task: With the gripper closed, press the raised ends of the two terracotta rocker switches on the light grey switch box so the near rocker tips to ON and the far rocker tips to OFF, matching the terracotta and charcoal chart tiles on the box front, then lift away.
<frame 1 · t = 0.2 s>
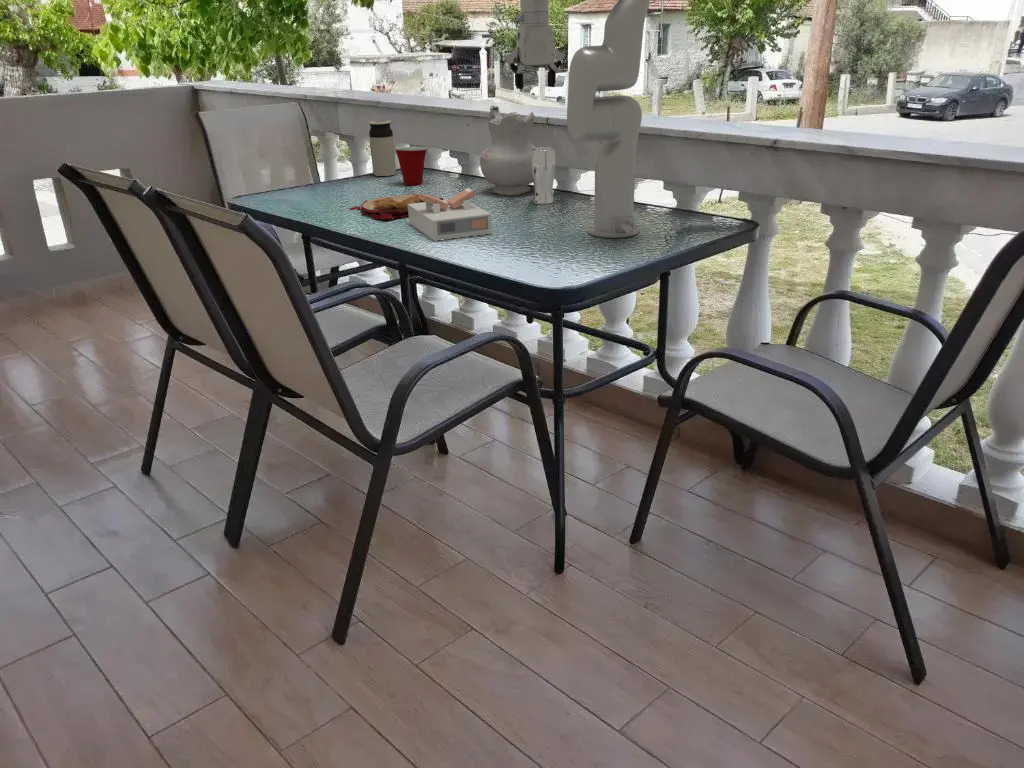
hand: (535, 87, 219), 31 cm above the table, fingers open, 9 cm apart
rocker a: (461, 198, 201), point 7 cm above the table, hinge at -25.0°
plastic cup: (413, 184, 261), on the table
switch box: (449, 228, 203), on the table
travel mug: (384, 175, 278), on the table
plate with food: (400, 210, 228), on the table
ceramic pitcher: (509, 191, 246), on the table
white cylinder: (543, 203, 229), on the table
rocker b: (433, 201, 198), point 7 cm above the table, hinge at 25.0°
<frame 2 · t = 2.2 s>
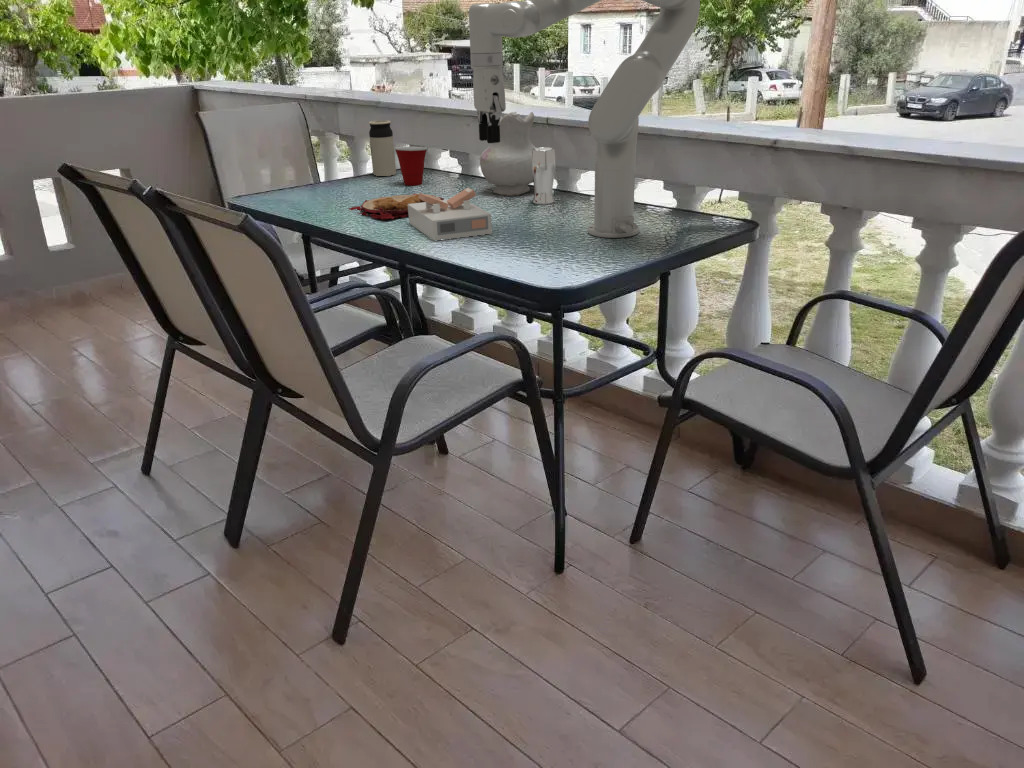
hand: (489, 140, 194), 21 cm above the table, fingers open, 4 cm apart
nothing on the table moved.
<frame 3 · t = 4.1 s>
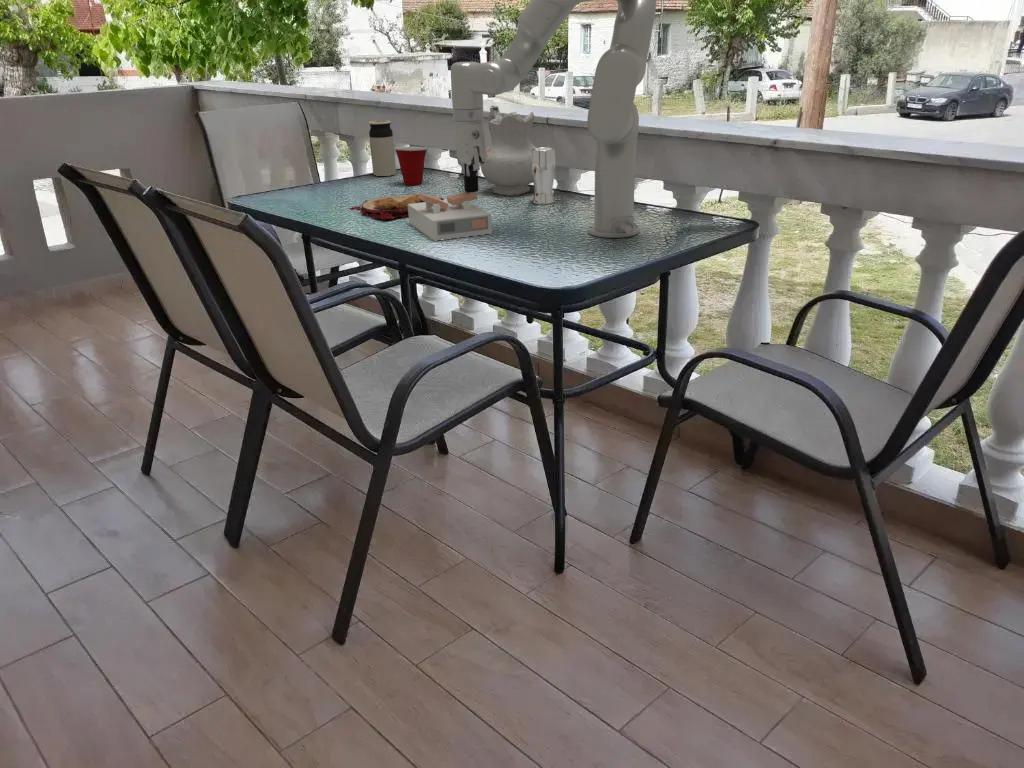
hand: (471, 191, 202), 9 cm above the table, fingers closed
rocker a: (462, 198, 201), point 7 cm above the table, hinge at -8.9°, touching gripper
everything else where it was.
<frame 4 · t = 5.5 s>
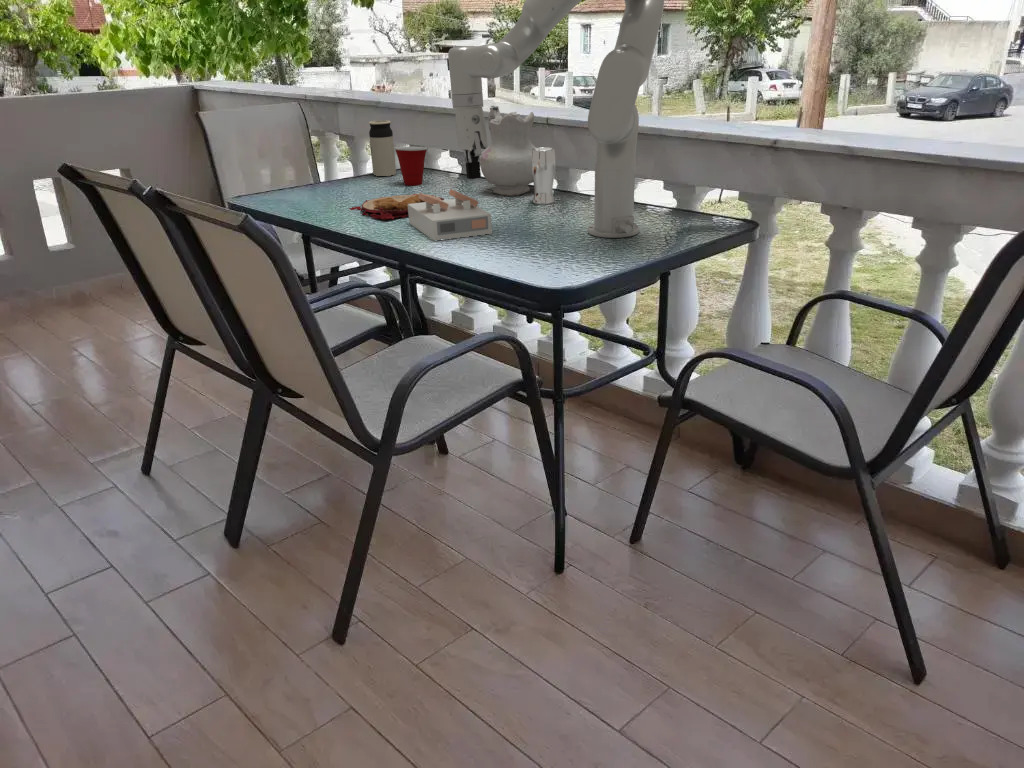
hand: (473, 177, 200), 12 cm above the table, fingers closed
rocker a: (463, 198, 201), point 7 cm above the table, hinge at 27.6°
everything else where it was.
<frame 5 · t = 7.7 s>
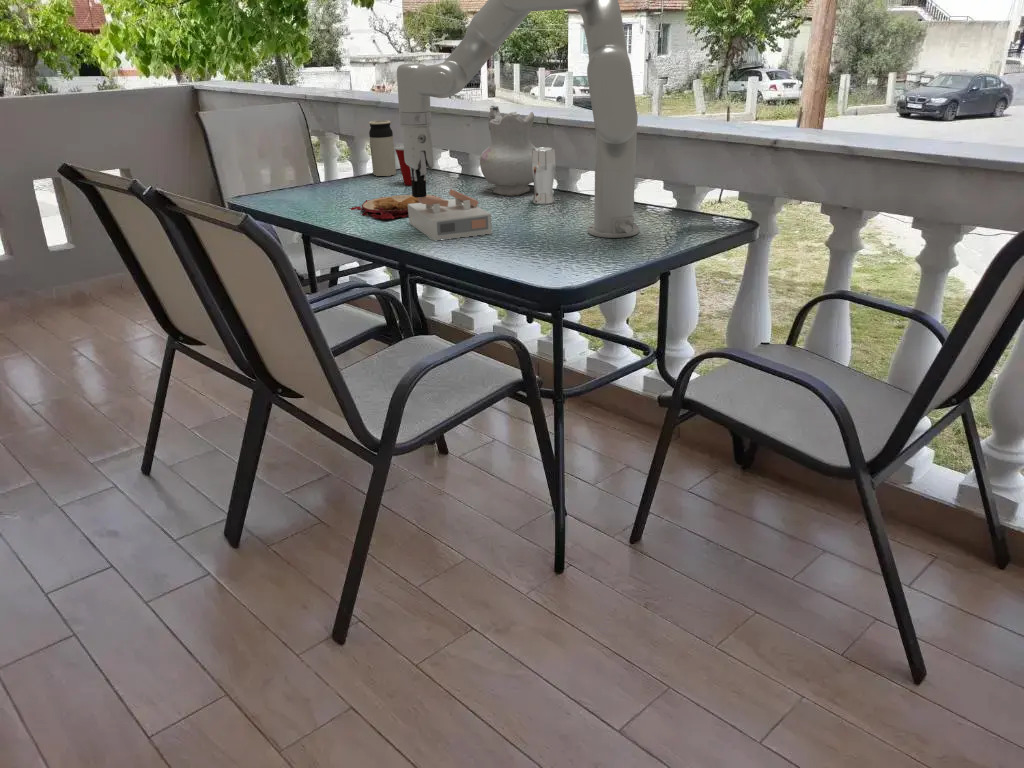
hand: (419, 196, 197), 9 cm above the table, fingers closed
rocker b: (432, 201, 198), point 7 cm above the table, hinge at 12.3°, touching gripper
everything else where it was.
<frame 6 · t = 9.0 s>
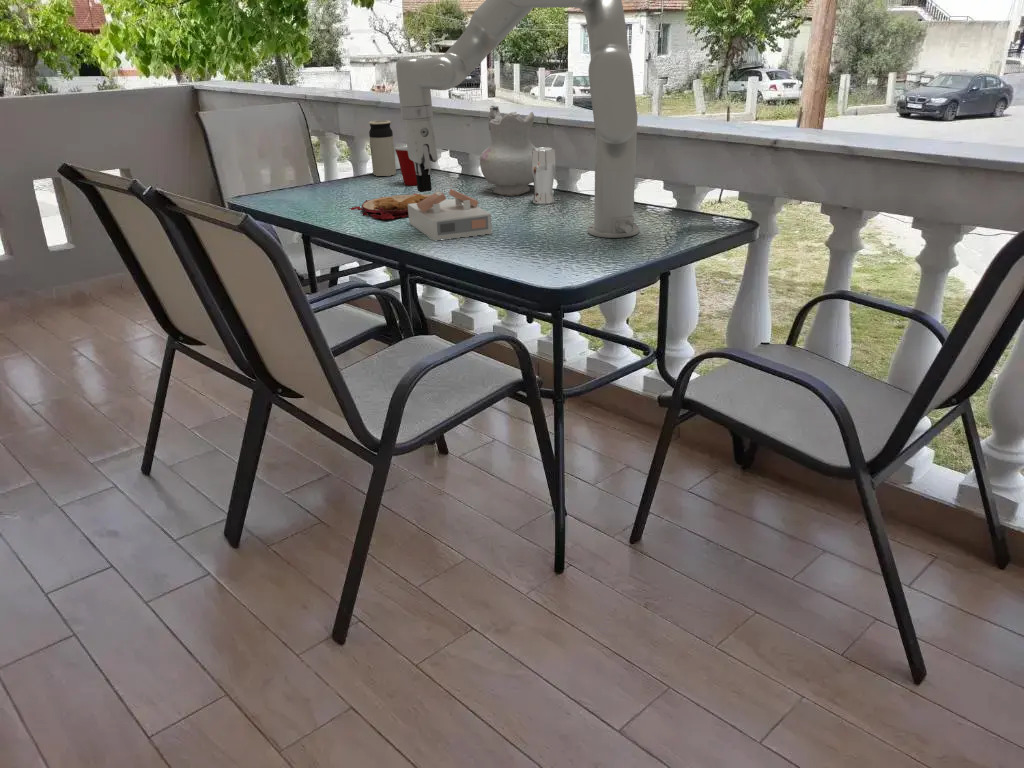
hand: (424, 190, 196), 10 cm above the table, fingers closed
rocker b: (431, 202, 198), point 7 cm above the table, hinge at -23.1°
everything else where it was.
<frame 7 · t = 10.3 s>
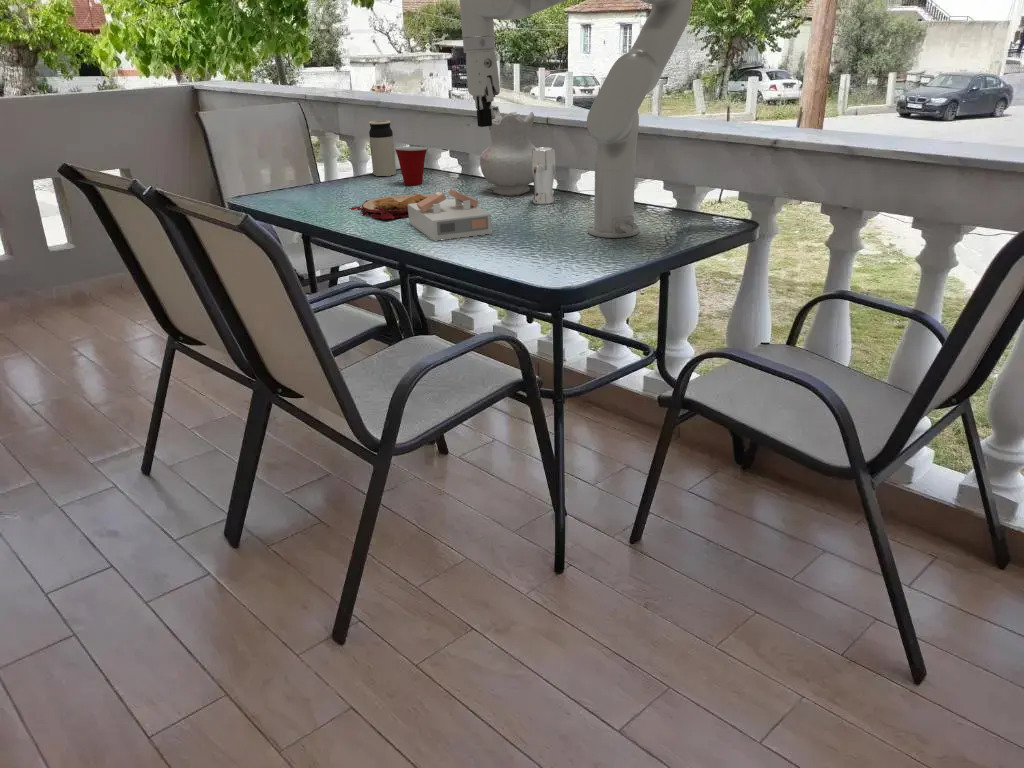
hand: (485, 126, 194), 25 cm above the table, fingers closed
nothing on the table moved.
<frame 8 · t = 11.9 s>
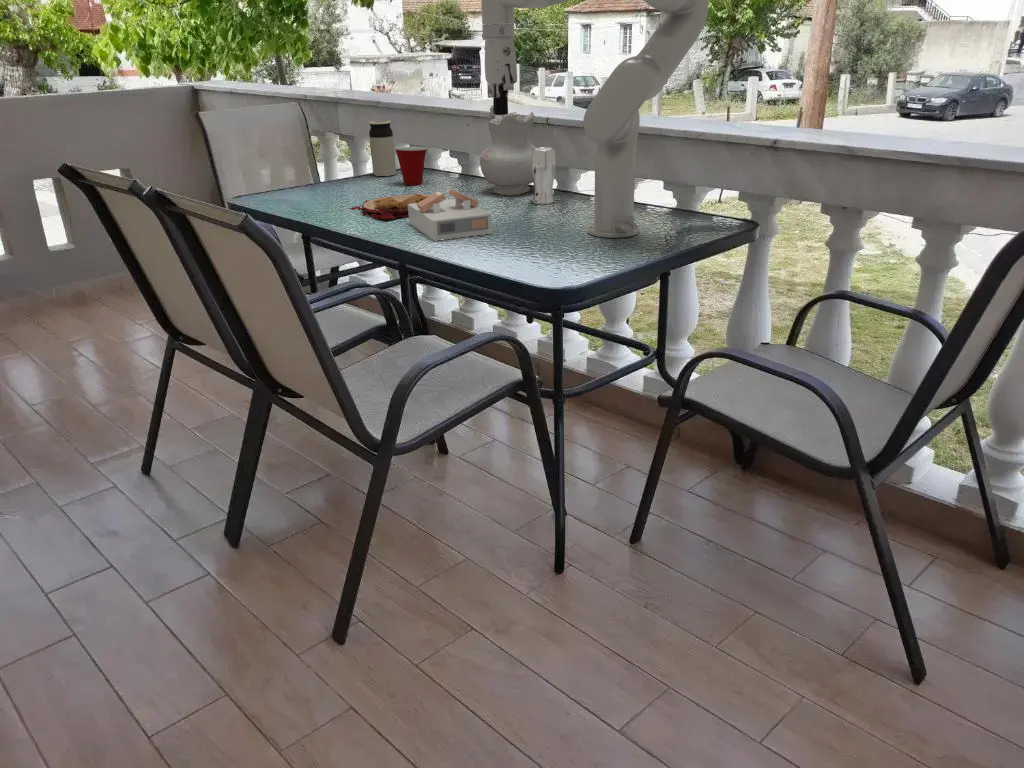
hand: (500, 114, 195), 27 cm above the table, fingers closed
nothing on the table moved.
at the end: rocker a at +28° (first picture: -25°); rocker b at -23° (first picture: +25°) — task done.
